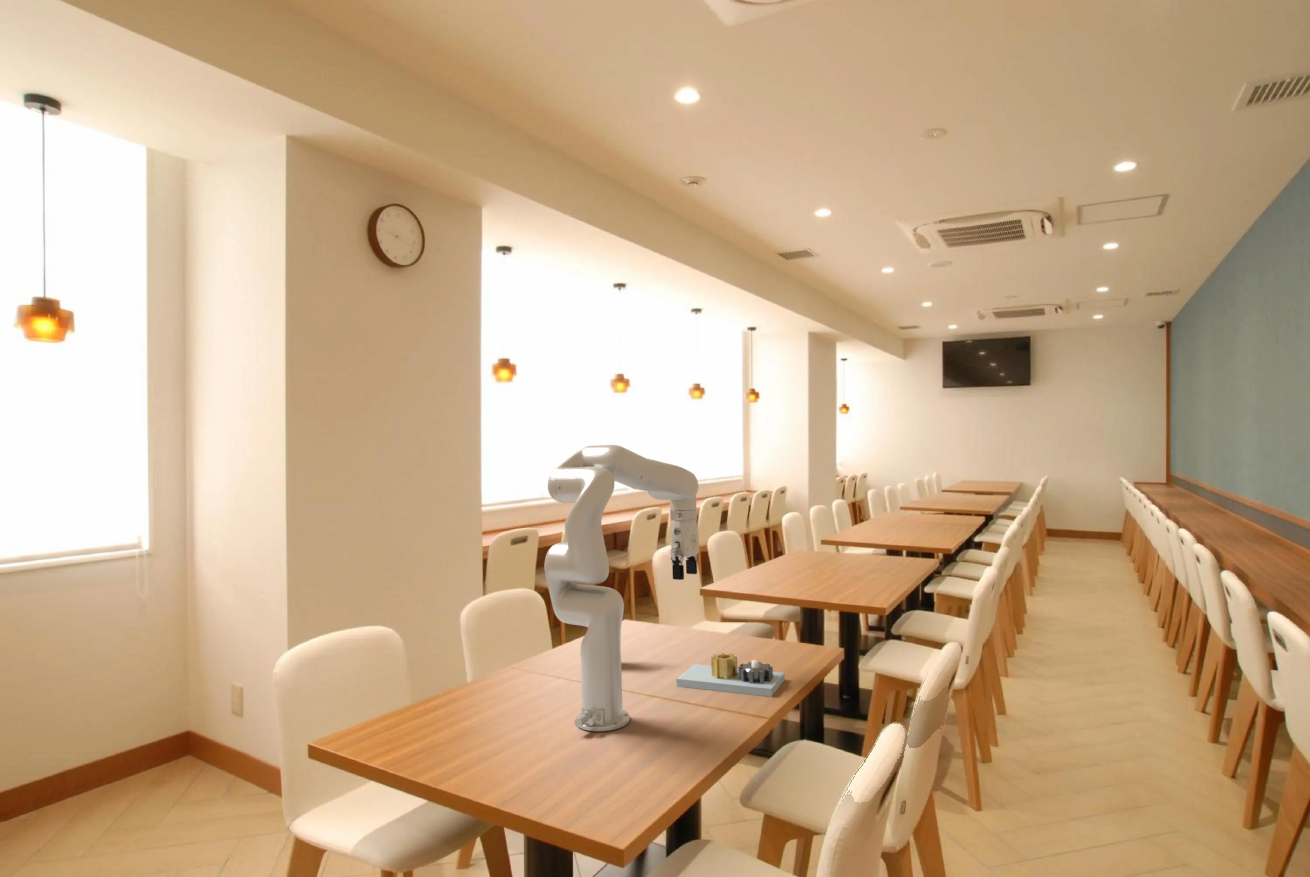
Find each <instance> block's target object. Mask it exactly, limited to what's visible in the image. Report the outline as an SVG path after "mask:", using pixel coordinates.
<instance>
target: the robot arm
mask: <svg viewBox="0 0 1310 877" xmlns="http://www.w3.org/2000/svg"><path fill="white" fill-rule="evenodd" d="M615 482H617V483H619V484H621V485H624V486H626V487H628V488H631V489H634V490H639V491H645V492H647V493H648V494H649V496H650V497H652V498H653V499H654V500H659V501H669V513H670V514H669V516H670V517H669V518H670V522H671V531H670V532H671V535H670V538H671V539H670V542H671V543H670V544H671V545H670V547H671V548H670V551H669V552H670V554H669V555H670V560H671V566H672V567H671V568H672V580H678V581H682V580H684V579H685V572H686V574H688V575H697V574H698V554H699V552H700V542H699V529H698V524H697V523H698V522H697V520H698V516H697V514H698V513H697V512H698V510H697V494H698V491H699V482H698V479H697V477H696V475H695V473H693V472H691V471H690V470H689V469H686V468H684V467H682V466H679V465H677V464H676V465H675V464H671V463H667V462H663V461H659V460H655V459H650V458H647V457H644V456H642V455H641V454H637V453H636V452H634V451H631V450H630V449H628V448H625V447H623V446H621V445H615V444H605V445H603V444H602V445H587V446H585V447H583V448H581V449H579V450H578V451H576V452H575V453H573V454H572V455H571V456H570V457H568V458H567V459H566V460H564V461H563V462H562V463H561V464H559V465H558V466H557V467H555V468H554V470H553V471H552V472H551V474H550V475H549V477H548V481H547V491H548V494H549V495H550V497H551V498H552V499H553V500H555V501H556V502H558V503H562V504H573V505H572V507H571V509H570V510H569V512H568V514H567V515H566V518H565V522H564V534H565V540H566V541H565V542H564V541H561V542H557V543H555V544H553V545H552V546H551V547H550V548H549V549H548V550H547V552H546V555H545V559H544V565H543V566H544V567H543V568H544V574H545V579H546V580H545V581H546V583H547V588H548V592H549V597H550V602H551V606H552V609H553V613H554V614H555V615H554V616H556V618H557V619H558V621H560V622H562V623H564V624H568V625H575V626H580V627H582V626H583V627H587V631H586V633H585V634H584V637H583V638H582V640H581V643H580V649H579V650H580V651H579V655H580V656H579V657H580V682H581V683H580V684H581V687H580V688H581V712H580V713H578V714H577V716H576V717H575V720H574V726H576V728H579V729H581V730H584V731H590V732H609V731H614V730H618V729H621V728H623V727H625V726H626V725H627V724H629V723H630V719H631V718H630V714H629V712H627V711H626V710H625V709H624V707H623V681H622V680H623V678H622V677H623V676H622V672H623V671H622V650H621V649H622V648H621V644H622V642H621V637H622V635H621V634H622V632H621V631H622V623H623V617H624V610H625V603H624V599H623V597H622V594H621V593H620V592H619V591H618V590H616V589H614V588H612V587H609V586H608V587H607V586H604V585H603V586H602V585H601V586H600V585H599V584H602V583H604V582H605V581H606V580H607V578H608V577H609V573H610V563H609V558H608V553H607V547H606V544H605V543H606V542H605V539H604V534H603V527H602V519H603V514H604V511H605V510H606V509H605V508H606V507H607V505H608V503H609V501H610V499H611V497H612V495H613V492H614V489H615ZM685 558H686V559H685ZM684 559H685V565H684V564H683V562H684ZM684 566H685V567H684ZM684 568H685V569H684ZM685 570H686V571H685Z"/></svg>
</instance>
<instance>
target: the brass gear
mask: <svg viewBox="0 0 1310 877" xmlns="http://www.w3.org/2000/svg"><path fill="white" fill-rule="evenodd" d="M710 664H711V665H710V666H711V672H712V676H715V678H717V679H718V678H724V679H727V678H736V675H738V669H737V668H738V656H737V655H734V653H728V654H727V653H725V652H721V653H720V654H718V653H714V654H713V656H712V655H711V657H710Z"/></svg>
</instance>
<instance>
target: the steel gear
mask: <svg viewBox="0 0 1310 877" xmlns="http://www.w3.org/2000/svg"><path fill="white" fill-rule="evenodd" d="M737 668H738V670H739V679H741V681H742V682H745V681H748V682H749V683H751V684H753V683H754V682H759V683H760V684H762V683H764V682H765V681H767V682H770V681H771V679H773V672H774V668H773V666H771V665H770V663H762V661H759V668H752V664H751V661H748V662H747V663H741V664H740V665H737Z"/></svg>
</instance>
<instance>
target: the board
mask: <svg viewBox="0 0 1310 877" xmlns="http://www.w3.org/2000/svg"><path fill="white" fill-rule="evenodd" d="M750 662H751V664H752V668H759V662H760V661H759V660H757V659H753V660H751V661H750ZM737 669H738V667H737ZM784 681H785V672H782V671H781V672H780V671H773V679H771V681H770V682H767V681H765V682H764V683H762V684H760V683H759V682H754V683H753V684H751V683H749V682H748V681H745V682H742V681H741V679H739V670H738V675H736V678H727V679H724V678H718V679H717V678H715V676H712V672H711V665H709V664H708V665H707V664H699V663H694V664H693V665H691V666H690V667H689V668H688V669H687V670H685V671H684V672H683V673H682V674H680V675H679V676H678V677H676V680H675V682H676V683H675V684H676V687H679V688H680V687H681V688H688V689H696V690H697V689H698V690H707V691H713V692H714V691H716V692H726V693H731V694H732V693H734V694H741V693H742V695H743V694H744V695H750V696H751V695H752V696H760V697H762V696H763V697H769V698H770V697H771V698H772V697H773V696H774V695H775V693H776V692H777V690H778V689H779V688H780V687H781V685H782V684H783V683H784Z"/></svg>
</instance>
